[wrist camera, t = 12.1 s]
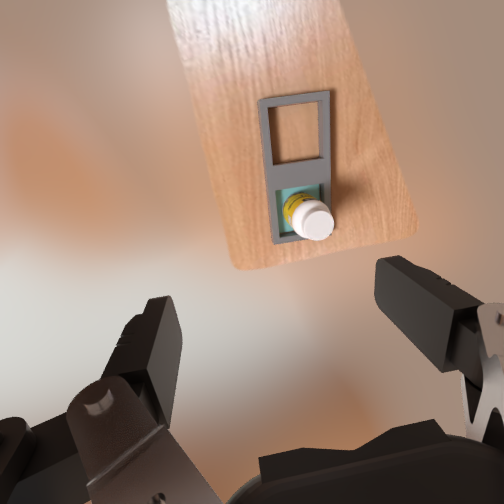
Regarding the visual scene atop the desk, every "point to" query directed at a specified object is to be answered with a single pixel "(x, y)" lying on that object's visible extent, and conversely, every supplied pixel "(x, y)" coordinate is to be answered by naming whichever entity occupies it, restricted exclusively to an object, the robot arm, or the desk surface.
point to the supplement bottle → (308, 216)
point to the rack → (295, 165)
